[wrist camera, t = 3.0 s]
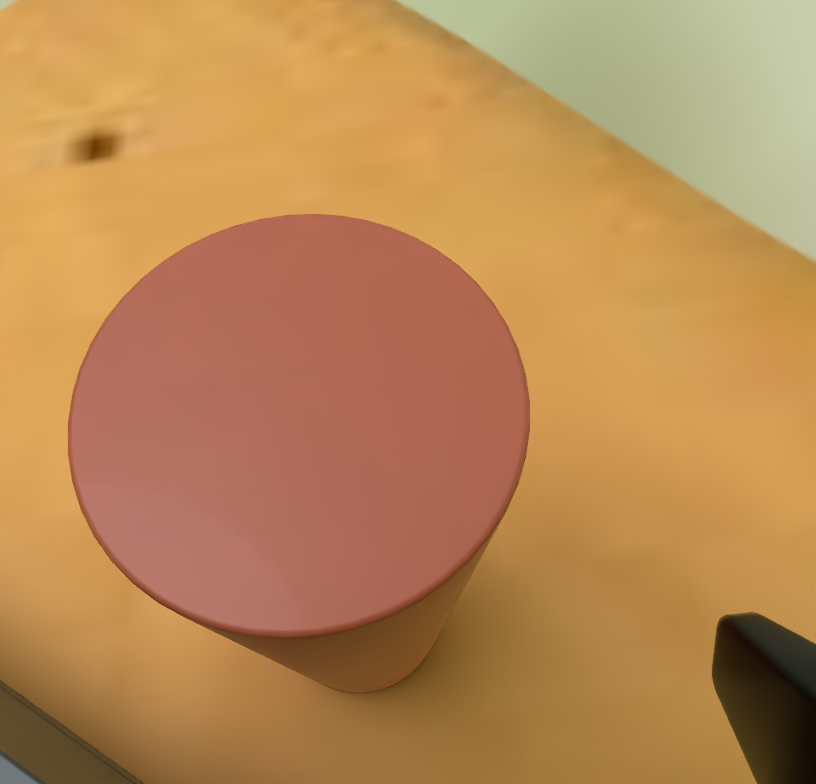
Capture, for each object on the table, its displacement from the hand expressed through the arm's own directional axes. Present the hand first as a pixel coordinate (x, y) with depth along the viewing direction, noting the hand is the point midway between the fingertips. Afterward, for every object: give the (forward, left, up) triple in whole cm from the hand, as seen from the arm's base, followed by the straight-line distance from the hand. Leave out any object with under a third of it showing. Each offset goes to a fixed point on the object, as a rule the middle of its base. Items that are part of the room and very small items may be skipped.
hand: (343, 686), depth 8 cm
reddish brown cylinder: (+2, +1, -9) cm, 10 cm away
